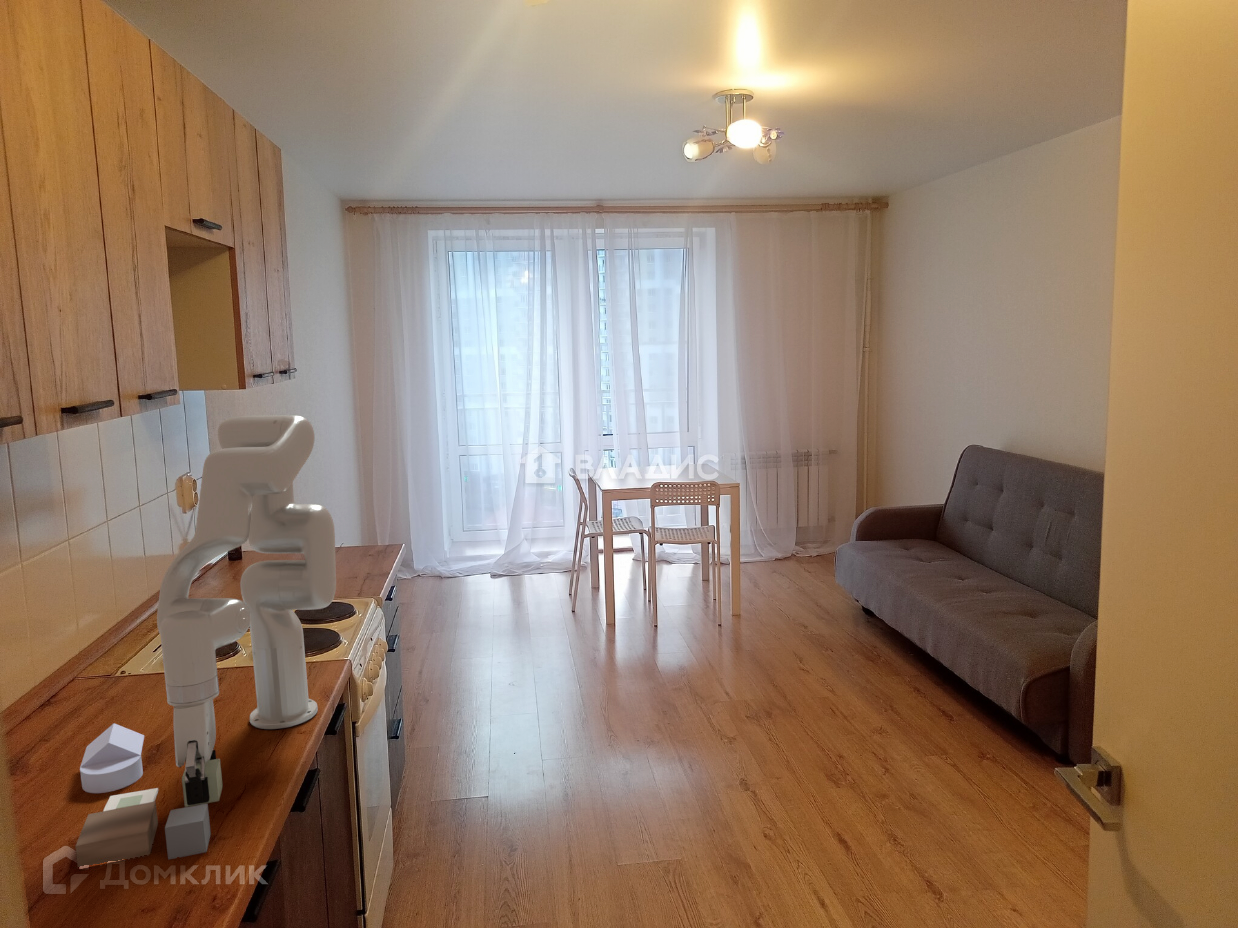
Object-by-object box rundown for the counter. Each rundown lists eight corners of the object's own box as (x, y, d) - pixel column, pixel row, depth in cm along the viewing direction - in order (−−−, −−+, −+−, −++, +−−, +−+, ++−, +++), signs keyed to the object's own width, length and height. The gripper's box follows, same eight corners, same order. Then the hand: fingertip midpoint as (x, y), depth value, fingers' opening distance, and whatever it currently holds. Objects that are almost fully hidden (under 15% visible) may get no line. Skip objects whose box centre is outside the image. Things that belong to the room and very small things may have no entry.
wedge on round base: (89, 763, 153) (78, 798, 141) (84, 728, 152) (73, 759, 140) (146, 752, 157) (140, 784, 145) (142, 717, 156) (136, 747, 144)
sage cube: (189, 791, 142) (186, 763, 142) (222, 786, 144) (219, 758, 143) (184, 807, 138) (181, 778, 137) (218, 801, 139) (216, 772, 138)
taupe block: (91, 838, 130) (88, 813, 129) (158, 825, 133) (155, 801, 133) (78, 871, 122) (75, 845, 121) (150, 856, 125) (147, 831, 124)
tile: (110, 799, 140) (110, 794, 140) (158, 791, 143) (157, 786, 143) (100, 821, 134) (99, 816, 134) (150, 812, 136) (149, 807, 136)
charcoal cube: (174, 841, 128) (170, 809, 127) (210, 834, 130) (207, 803, 129) (168, 859, 124) (164, 827, 123) (206, 852, 125) (203, 820, 124)
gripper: (176, 672, 145) (186, 767, 147) (156, 713, 129) (168, 819, 131) (224, 666, 147) (233, 760, 150) (211, 705, 131) (221, 810, 133)
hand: (202, 787), depth 140 cm, fingers open, 9 cm apart
